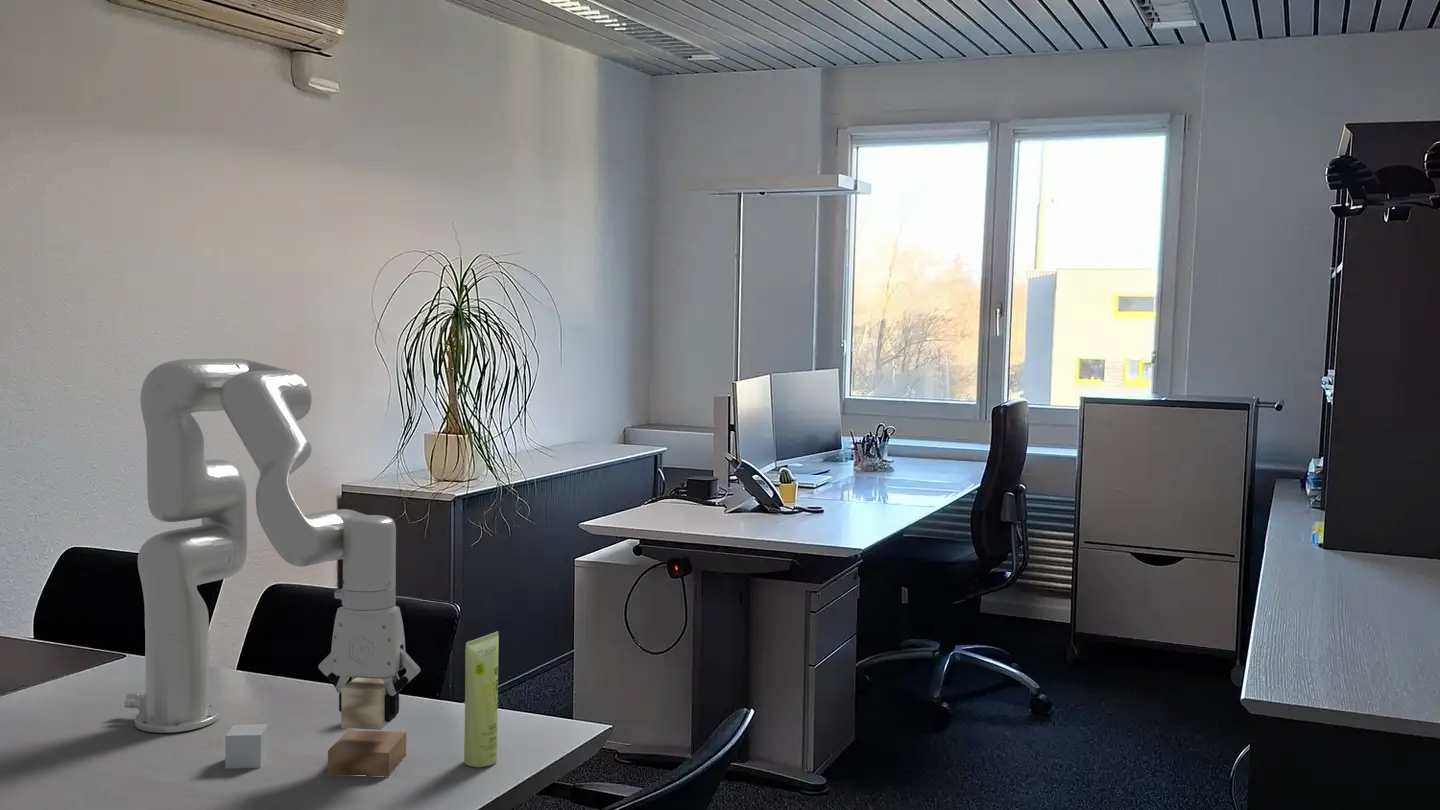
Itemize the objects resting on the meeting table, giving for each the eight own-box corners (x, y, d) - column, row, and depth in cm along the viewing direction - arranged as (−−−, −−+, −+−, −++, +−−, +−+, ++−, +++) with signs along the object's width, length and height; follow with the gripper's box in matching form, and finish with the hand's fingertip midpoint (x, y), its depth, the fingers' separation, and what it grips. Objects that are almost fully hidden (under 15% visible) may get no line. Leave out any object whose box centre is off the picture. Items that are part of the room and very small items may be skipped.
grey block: (225, 769, 178) (225, 735, 177) (233, 757, 182) (234, 724, 182) (260, 768, 178) (260, 735, 178) (268, 756, 183) (268, 724, 183)
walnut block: (327, 777, 176) (327, 750, 176) (347, 755, 185) (348, 730, 185) (388, 779, 176) (389, 752, 176) (406, 757, 185) (406, 732, 185)
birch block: (341, 727, 177) (341, 687, 177) (357, 715, 183) (358, 676, 183) (380, 730, 177) (380, 689, 176) (395, 717, 183) (396, 678, 182)
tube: (498, 768, 180) (500, 640, 179) (463, 770, 179) (465, 641, 178) (496, 755, 186) (498, 631, 185) (463, 757, 185) (464, 632, 184)
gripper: (302, 601, 176) (302, 722, 177) (416, 607, 174) (415, 729, 175) (325, 591, 184) (324, 707, 185) (434, 596, 182) (433, 713, 183)
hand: (369, 716), depth 180 cm, fingers closed on birch block, 6 cm apart
